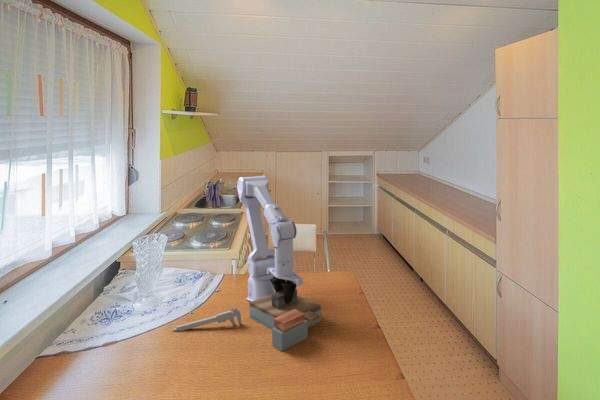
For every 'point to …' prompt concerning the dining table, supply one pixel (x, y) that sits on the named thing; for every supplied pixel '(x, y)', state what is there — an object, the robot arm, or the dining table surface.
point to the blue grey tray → (287, 337)
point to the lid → (286, 305)
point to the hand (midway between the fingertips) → (284, 300)
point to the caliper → (212, 320)
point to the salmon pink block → (289, 320)
